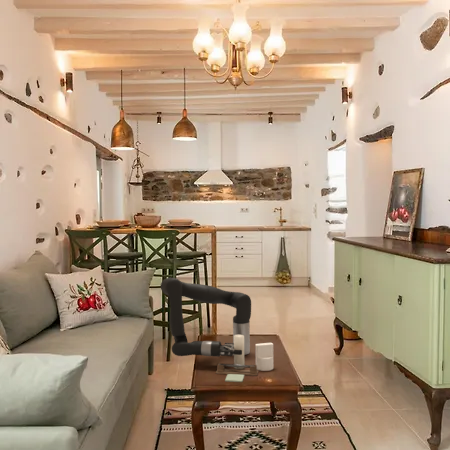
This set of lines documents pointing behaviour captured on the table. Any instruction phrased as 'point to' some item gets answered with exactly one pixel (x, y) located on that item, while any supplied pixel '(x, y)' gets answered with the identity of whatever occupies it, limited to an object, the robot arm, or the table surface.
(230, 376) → the sage mat
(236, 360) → the tall cream cylinder
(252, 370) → the rail stand
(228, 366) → the metal rod
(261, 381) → the table surface
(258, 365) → the cylinder with rectangular tab
